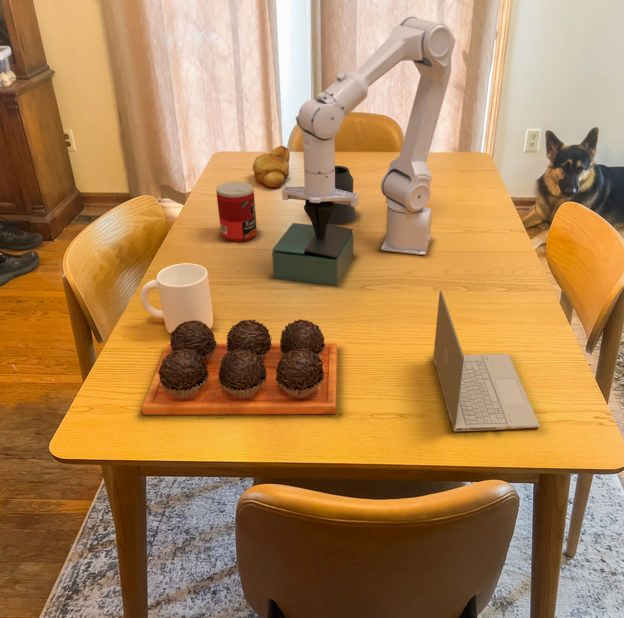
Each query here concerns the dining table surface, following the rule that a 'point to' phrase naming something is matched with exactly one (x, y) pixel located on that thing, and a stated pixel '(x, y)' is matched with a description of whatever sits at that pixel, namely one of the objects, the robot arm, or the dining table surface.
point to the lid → (330, 241)
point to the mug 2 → (342, 211)
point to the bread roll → (272, 167)
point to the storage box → (308, 258)
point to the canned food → (236, 211)
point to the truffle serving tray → (245, 372)
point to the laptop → (478, 384)
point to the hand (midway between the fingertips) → (320, 236)
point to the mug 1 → (180, 295)
